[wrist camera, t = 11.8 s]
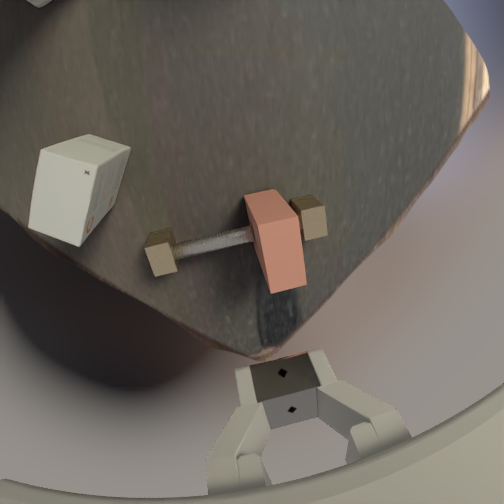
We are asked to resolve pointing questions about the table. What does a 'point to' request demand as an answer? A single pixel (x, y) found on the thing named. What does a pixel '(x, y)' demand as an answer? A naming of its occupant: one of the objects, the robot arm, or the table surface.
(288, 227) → the collar
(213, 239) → the pipe rig
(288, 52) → the table surface
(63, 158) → the small box
